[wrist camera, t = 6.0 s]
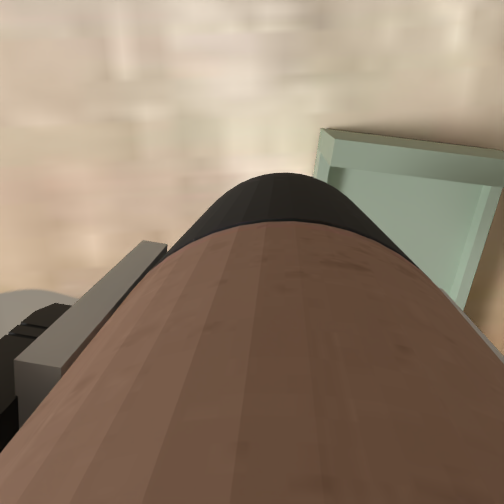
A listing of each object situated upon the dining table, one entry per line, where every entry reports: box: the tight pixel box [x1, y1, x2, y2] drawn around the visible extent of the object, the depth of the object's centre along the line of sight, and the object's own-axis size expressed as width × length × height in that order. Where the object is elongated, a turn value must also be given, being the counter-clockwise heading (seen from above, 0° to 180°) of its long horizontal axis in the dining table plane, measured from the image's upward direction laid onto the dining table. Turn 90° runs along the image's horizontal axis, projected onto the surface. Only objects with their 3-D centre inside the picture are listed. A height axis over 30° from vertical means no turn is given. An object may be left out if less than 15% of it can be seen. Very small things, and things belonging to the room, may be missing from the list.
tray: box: [313, 128, 504, 311], centre depth 31 cm, size 18×13×9 cm
